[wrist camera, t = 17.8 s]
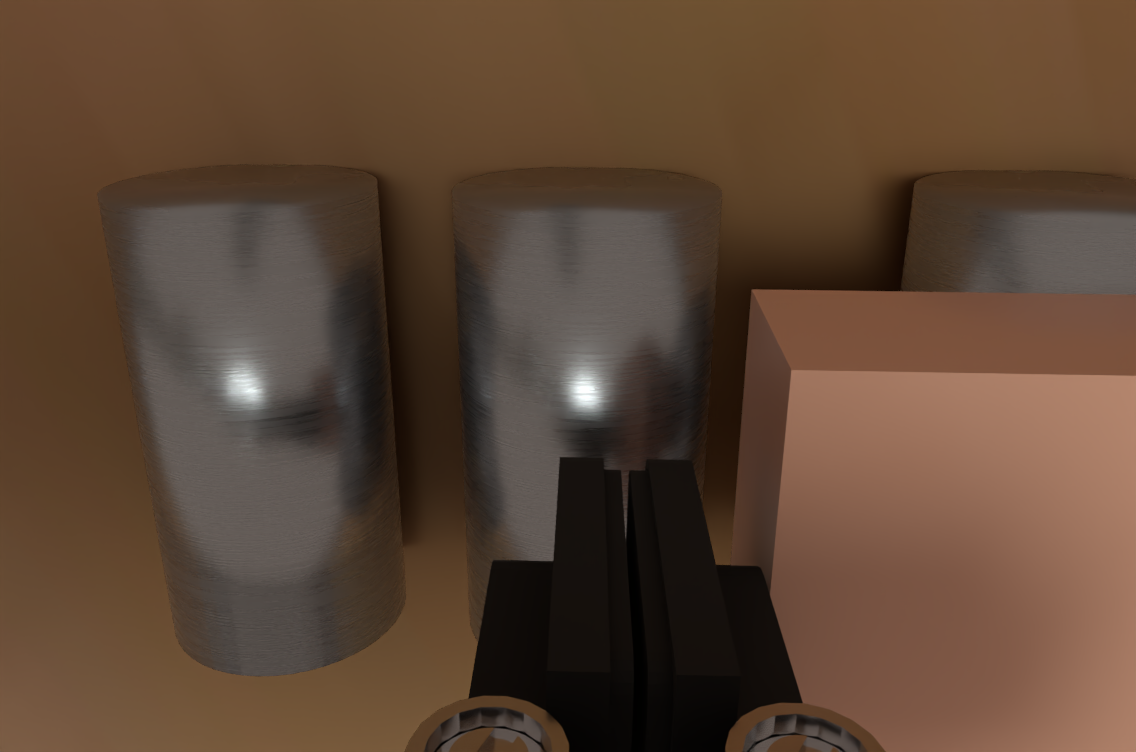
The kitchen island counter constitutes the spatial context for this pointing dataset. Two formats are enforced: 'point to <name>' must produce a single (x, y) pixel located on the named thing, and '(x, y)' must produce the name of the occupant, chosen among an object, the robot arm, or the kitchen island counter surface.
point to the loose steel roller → (1022, 233)
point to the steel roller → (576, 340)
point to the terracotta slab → (948, 511)
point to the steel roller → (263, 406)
